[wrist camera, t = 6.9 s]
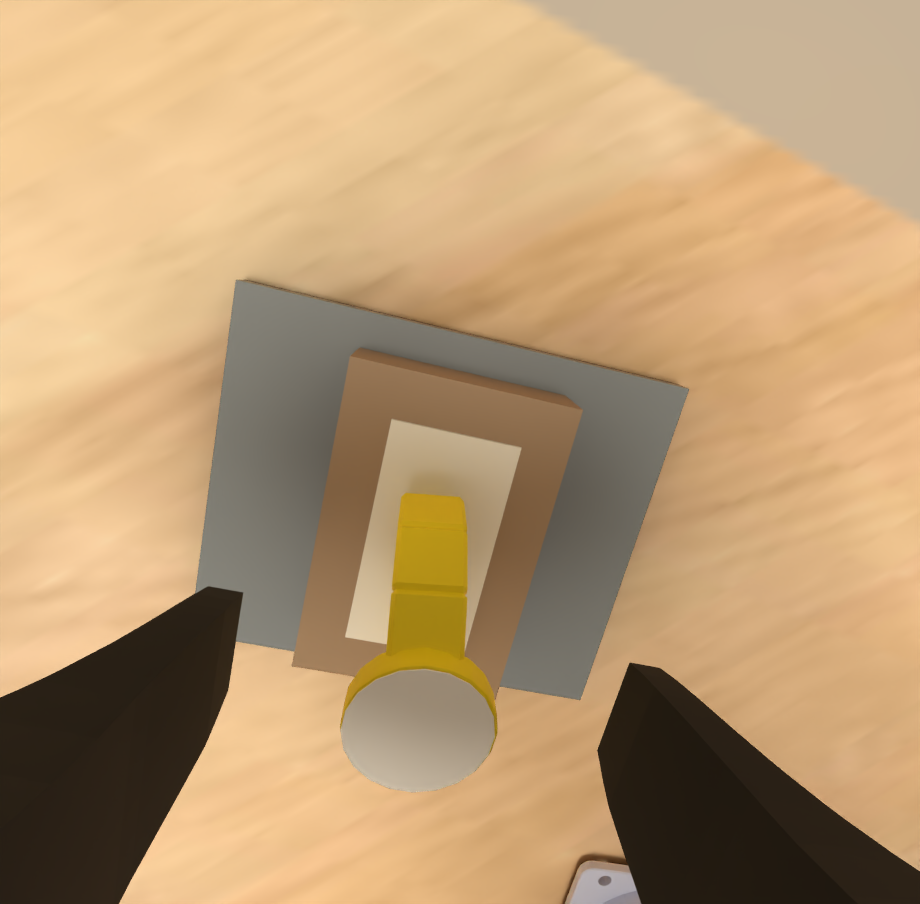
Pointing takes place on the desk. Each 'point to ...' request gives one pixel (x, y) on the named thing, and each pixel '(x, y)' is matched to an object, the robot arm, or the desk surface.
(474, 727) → the watch
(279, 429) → the base board
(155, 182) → the desk surface
